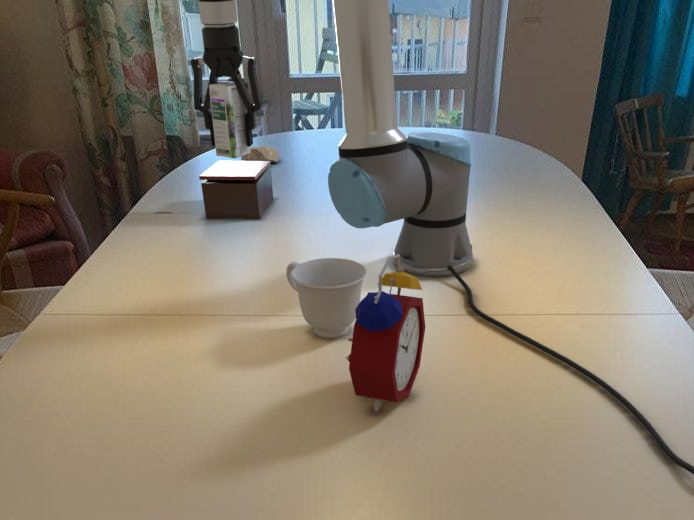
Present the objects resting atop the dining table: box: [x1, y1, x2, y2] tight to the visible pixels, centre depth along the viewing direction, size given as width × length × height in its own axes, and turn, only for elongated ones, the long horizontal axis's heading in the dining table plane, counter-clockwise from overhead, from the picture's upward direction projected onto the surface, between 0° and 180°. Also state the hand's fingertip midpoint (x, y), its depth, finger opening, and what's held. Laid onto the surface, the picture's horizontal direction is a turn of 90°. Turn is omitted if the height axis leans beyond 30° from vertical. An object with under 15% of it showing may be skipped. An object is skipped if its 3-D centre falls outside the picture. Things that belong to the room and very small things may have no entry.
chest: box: [200, 164, 274, 220], centre depth 171 cm, size 16×13×8 cm
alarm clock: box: [342, 254, 426, 413], centre depth 99 cm, size 15×9×20 cm, turn 158°
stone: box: [240, 145, 280, 163], centre depth 205 cm, size 8×10×4 cm
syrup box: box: [209, 80, 251, 159], centre depth 161 cm, size 6×6×14 cm
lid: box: [198, 160, 272, 181], centre depth 168 cm, size 16×13×1 cm
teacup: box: [285, 257, 368, 339], centre depth 119 cm, size 12×15×10 cm
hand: (232, 144), depth 164 cm, fingers closed on syrup box, 7 cm apart
